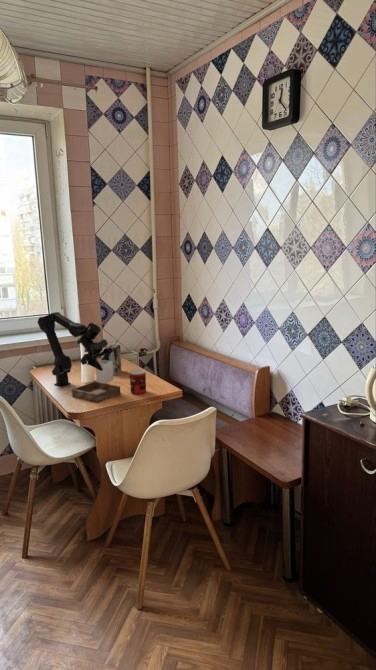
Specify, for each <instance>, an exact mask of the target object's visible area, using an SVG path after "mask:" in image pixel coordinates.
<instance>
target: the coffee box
mask: <svg viewBox="0 0 376 670" xmlns="http://www.w3.org/2000/svg"><path fill="white" fill-rule="evenodd" d="M109 347H111V348H112V350H113V352H112V353H111V354H110V355H109V360H110V361H113V376H117V375H119V374H120V373H121V372H122V355H121V354H122V353H121V352H122V351H121V344H110V345H107V347H105V348H109Z"/></svg>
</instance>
